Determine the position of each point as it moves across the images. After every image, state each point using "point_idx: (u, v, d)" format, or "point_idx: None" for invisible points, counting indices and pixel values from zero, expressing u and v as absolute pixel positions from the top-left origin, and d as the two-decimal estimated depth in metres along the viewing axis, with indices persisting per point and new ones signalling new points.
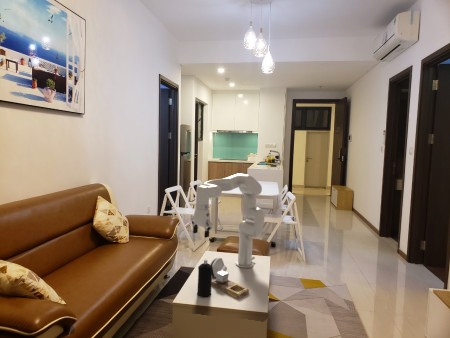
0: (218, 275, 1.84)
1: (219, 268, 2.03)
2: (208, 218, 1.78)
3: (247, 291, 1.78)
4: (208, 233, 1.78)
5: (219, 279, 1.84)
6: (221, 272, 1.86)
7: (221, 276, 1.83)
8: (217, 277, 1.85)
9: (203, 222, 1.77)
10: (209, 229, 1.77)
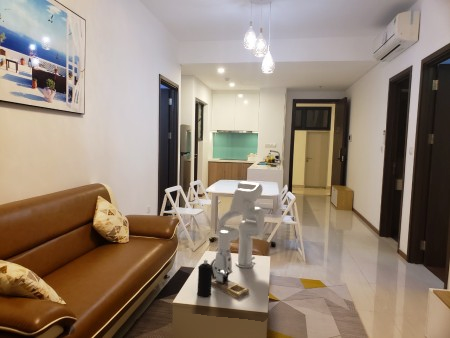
0: (218, 275, 1.84)
1: None
2: (230, 263, 1.82)
3: (247, 291, 1.78)
4: (227, 278, 1.84)
5: (218, 279, 1.84)
6: (221, 272, 1.86)
7: (221, 276, 1.83)
8: (216, 277, 1.85)
9: (225, 267, 1.81)
10: (228, 274, 1.82)
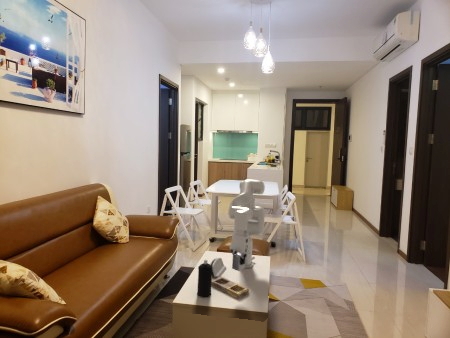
0: (234, 257, 1.75)
1: (219, 268, 2.02)
2: (247, 244, 1.73)
3: (247, 291, 1.78)
4: (244, 260, 1.74)
5: (235, 262, 1.75)
6: (238, 255, 1.76)
7: (238, 259, 1.73)
8: (233, 260, 1.76)
9: (242, 248, 1.72)
10: (245, 256, 1.73)
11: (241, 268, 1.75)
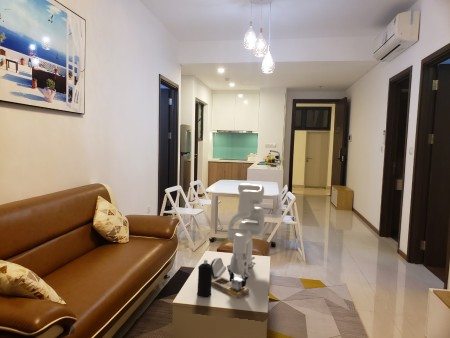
0: (233, 282, 1.77)
1: (219, 268, 2.02)
2: (246, 267, 1.74)
3: (247, 291, 1.78)
4: (245, 283, 1.74)
5: (234, 286, 1.76)
6: (236, 279, 1.78)
7: (237, 284, 1.75)
8: (232, 284, 1.77)
9: (241, 271, 1.73)
10: (246, 279, 1.73)
11: None
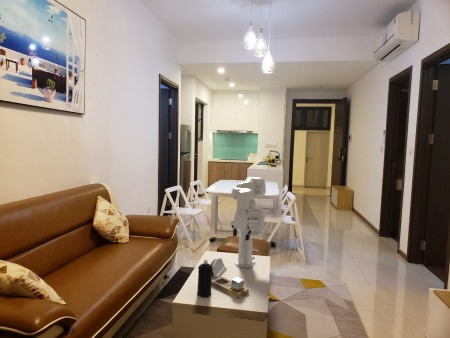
0: (233, 282, 1.77)
1: (219, 268, 2.02)
2: (249, 222, 1.85)
3: (247, 291, 1.78)
4: (249, 236, 1.85)
5: (234, 286, 1.76)
6: (236, 279, 1.78)
7: (237, 284, 1.75)
8: (232, 284, 1.77)
9: (244, 226, 1.84)
10: (250, 232, 1.84)
11: None
